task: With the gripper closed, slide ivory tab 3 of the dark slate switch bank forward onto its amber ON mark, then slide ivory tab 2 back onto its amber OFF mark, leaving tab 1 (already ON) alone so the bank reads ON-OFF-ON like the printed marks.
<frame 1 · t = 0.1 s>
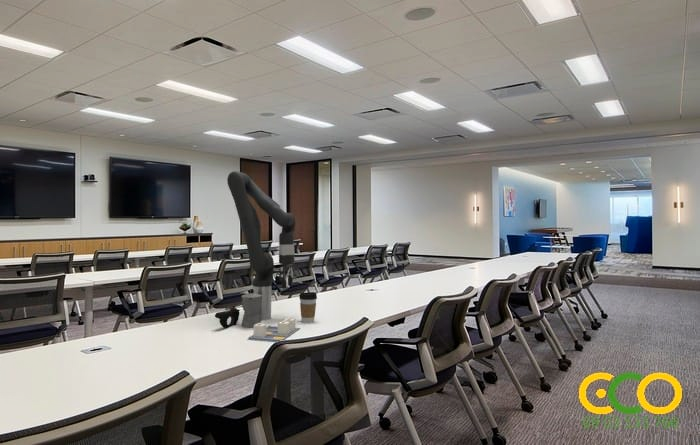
hand: (287, 287, 215), 17 cm above the table, tool pointing down, fingers open, 8 cm apart
tab 1: (289, 324, 194), point 4 cm above the table, slide at 8.0 cm
coffeepot: (251, 328, 203), on the table
coffee cup: (307, 324, 213), on the table
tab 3: (260, 329, 183), point 4 cm above the table, slide at 0.0 cm
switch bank: (275, 336, 189), on the table
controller: (227, 328, 202), on the table
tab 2: (284, 327, 188), point 4 cm above the table, slide at 8.0 cm
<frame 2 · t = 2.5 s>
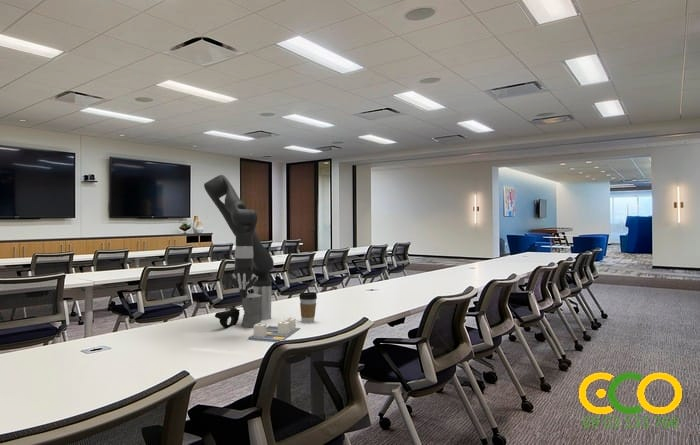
hand: (243, 298, 185), 17 cm above the table, tool pointing down, fingers closed
nothing on the table moved.
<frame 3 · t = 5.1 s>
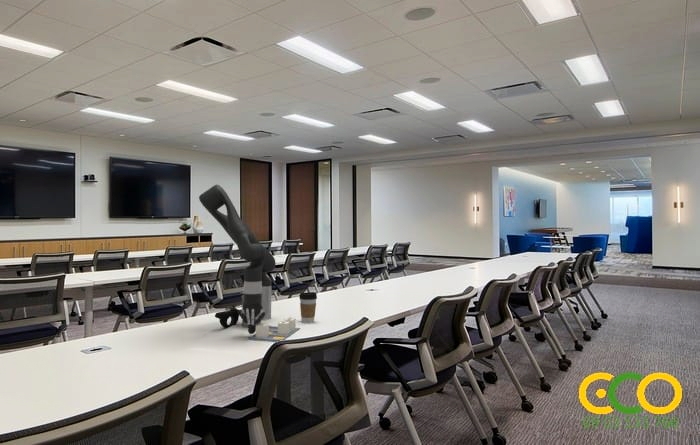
hand: (251, 333, 184), 2 cm above the table, tool pointing down, fingers closed
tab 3: (262, 330, 183), point 4 cm above the table, slide at 1.1 cm, touching gripper
everything else where it was.
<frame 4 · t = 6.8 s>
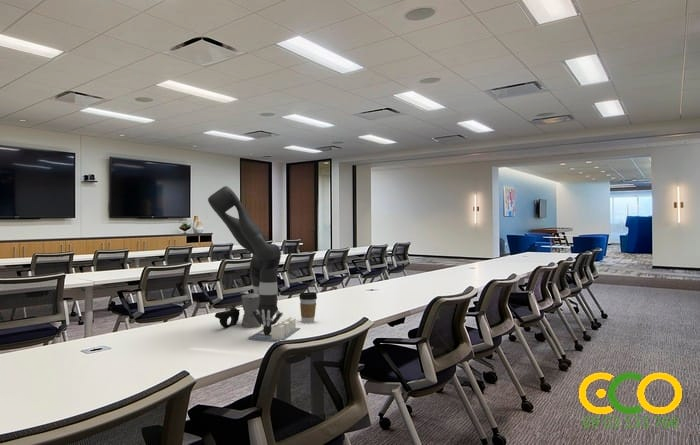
hand: (267, 334, 183), 2 cm above the table, tool pointing down, fingers closed
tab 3: (278, 331, 182), point 4 cm above the table, slide at 8.0 cm, touching gripper
everything else where it was.
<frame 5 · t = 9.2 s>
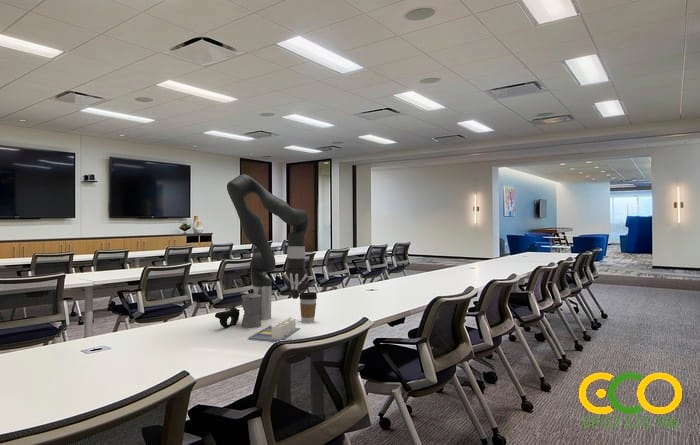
hand: (295, 298, 185), 17 cm above the table, tool pointing down, fingers closed
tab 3: (278, 331, 182), point 4 cm above the table, slide at 8.0 cm
everything else where it was.
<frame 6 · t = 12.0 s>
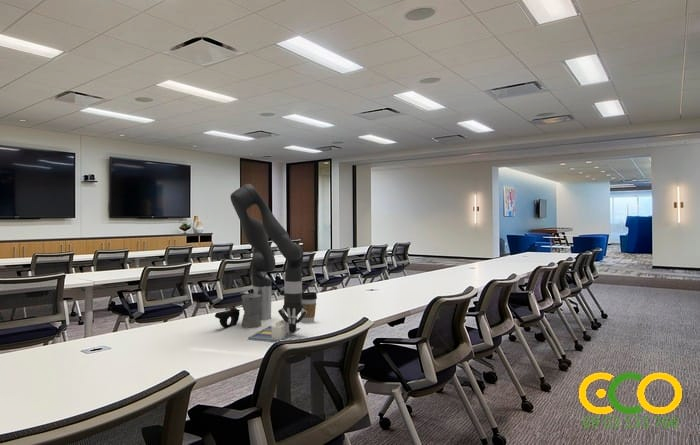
hand: (292, 332, 187), 2 cm above the table, tool pointing down, fingers closed
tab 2: (281, 327, 188), point 4 cm above the table, slide at 6.9 cm, touching gripper
everything else where it was.
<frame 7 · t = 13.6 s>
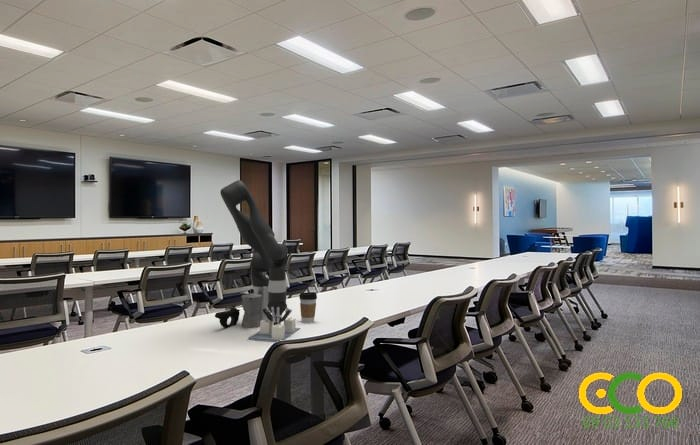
hand: (277, 331, 189), 2 cm above the table, tool pointing down, fingers closed
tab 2: (266, 326, 190), point 4 cm above the table, slide at 0.0 cm, touching gripper
everything else where it was.
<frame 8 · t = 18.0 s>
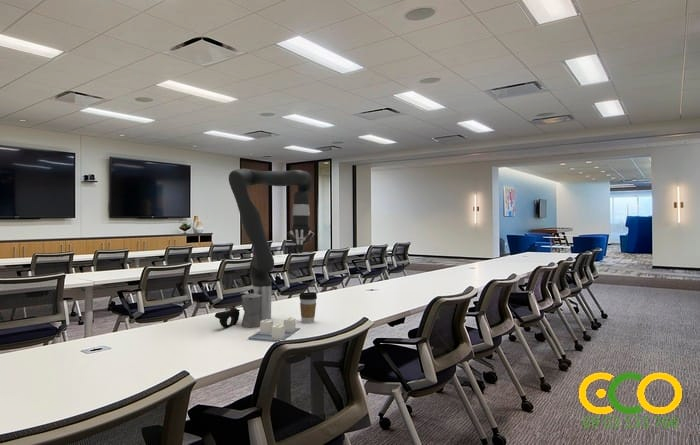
hand: (300, 252, 201), 35 cm above the table, tool pointing down, fingers closed
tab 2: (266, 326, 190), point 4 cm above the table, slide at 0.0 cm
everything else where it was.
at the end: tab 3 slide at 8.0 cm; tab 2 slide at 0.0 cm; tab 1 slide at 8.0 cm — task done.
